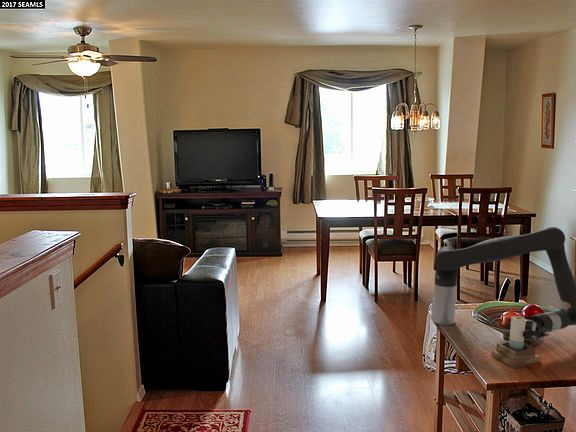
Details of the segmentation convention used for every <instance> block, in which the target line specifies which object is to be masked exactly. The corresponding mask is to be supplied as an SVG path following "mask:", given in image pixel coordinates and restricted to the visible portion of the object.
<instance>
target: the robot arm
mask: <svg viewBox="0 0 576 432" xmlns="http://www.w3.org/2000/svg"><path fill="white" fill-rule="evenodd" d="M565 243H566V236H565V233H564V232H563V230H562V229H560V228H558V227H555V226H549V227H546V228H544V229H541V230H538V231H535V232H532V233H531V232H530V233H526V234H520V235H507V236H500V237H494V238H490V239H486V240H483V241H480V242H478V243H475V244H474V245H471V246H467V247H465V248H458V249H455V248H454V247H452V246H449V245H448V246H442V247H441V248H439V249H438V251H437V252H436V255H435V257H434V263H435V275H434V286H433V287H434V289H433V290H434V291H433V298H432V301H431V320H432V321H433V323H435V324H438V325H441V326H451V325H453V324H455V320H456V319H455V318H456V317H455V316H456V301H457V284H458V271H459V270H458V269H460V268H463V267H467V266H471V265H476V264H478V265H479V264H484V263H490V262H497V261H502V260H508V259H512V258H516V257H519V256H522V255H525V254H529V253H533V252H534V253H535V252H544V251H545V252H546V254H547V258H548V259H549V261H550V262H549V263H550V267H551V270H552V274H553V277H554V278H553V279H554V281H555V283H554V284H555V286H556V289H557V292H558V296H559V299H560V302H563V303H568V304H569V305H570V307H569V306H568V307H563V308H561V309H559V310H555V311H547V312H543V313H538V314H534V315H532V316H530V318H529V319H526V323H525V331H523V337H524V339H525V338H529V337H532V338H533V337H534V338H535V337H536V338H537V339H542V338H544V337H548V336H549V334H550V333H554V332H556V331H558V330H562V329H565V328H567V327H570V326H576V280H575V278H574V275H573V272H572V270H571V267H570V265H569V262H568V257H567V254H566V250H565V249H566V247H565ZM508 320H509V321H508V322H506V323H504V329H505V330H510V328H511V318H509V319H508Z"/></svg>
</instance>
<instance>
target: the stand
mask: <svg viewBox="0 0 576 432" xmlns="http://www.w3.org/2000/svg"><path fill="white" fill-rule="evenodd" d="M490 353H491V354H490V356H491V357H493V358H495V359H496V360H499V361H501V362H503V363H504V364H506V365H509V366H510V367H512V368H514V369H519V368H522V367H526V366H531V365H533V364H536V363H539V362H541V356H539V355H538V354H536V348H535V347H533V346H530V345H528V344H527V343H525V342H524V347H523V350H522V351H518V352H516V351H514V350H512V349H510V348H509V340H507V341H503V342H499V343H497V344H496V349H492V350H491V352H490Z"/></svg>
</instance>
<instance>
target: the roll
mask: <svg viewBox="0 0 576 432" xmlns="http://www.w3.org/2000/svg"><path fill="white" fill-rule="evenodd" d="M510 319H511V328H510V329H509V330H510V331H509V340H508V341H509V348H510V349H512V350H514V351H516V352H518V351H522V350H523V347H524V343H525V338H524V337H523V331H526V330H525V323H526V320H527V319H526V318H525V317H524V316H521V315H513V316H511V317H510Z"/></svg>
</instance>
